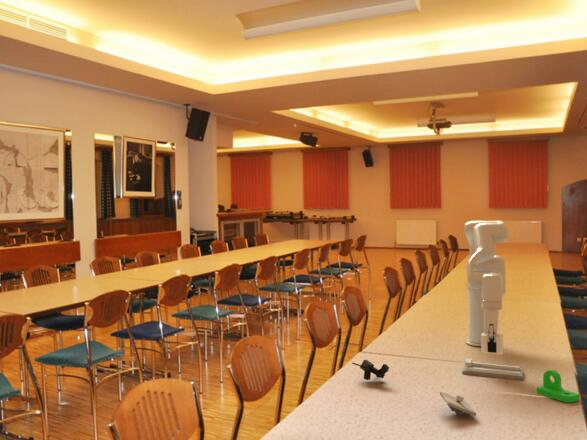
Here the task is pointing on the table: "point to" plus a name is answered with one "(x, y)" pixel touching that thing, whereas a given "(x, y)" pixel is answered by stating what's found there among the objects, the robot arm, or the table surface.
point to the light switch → (457, 404)
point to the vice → (372, 369)
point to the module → (498, 344)
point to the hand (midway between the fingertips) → (492, 349)
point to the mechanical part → (556, 388)
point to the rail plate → (492, 370)
